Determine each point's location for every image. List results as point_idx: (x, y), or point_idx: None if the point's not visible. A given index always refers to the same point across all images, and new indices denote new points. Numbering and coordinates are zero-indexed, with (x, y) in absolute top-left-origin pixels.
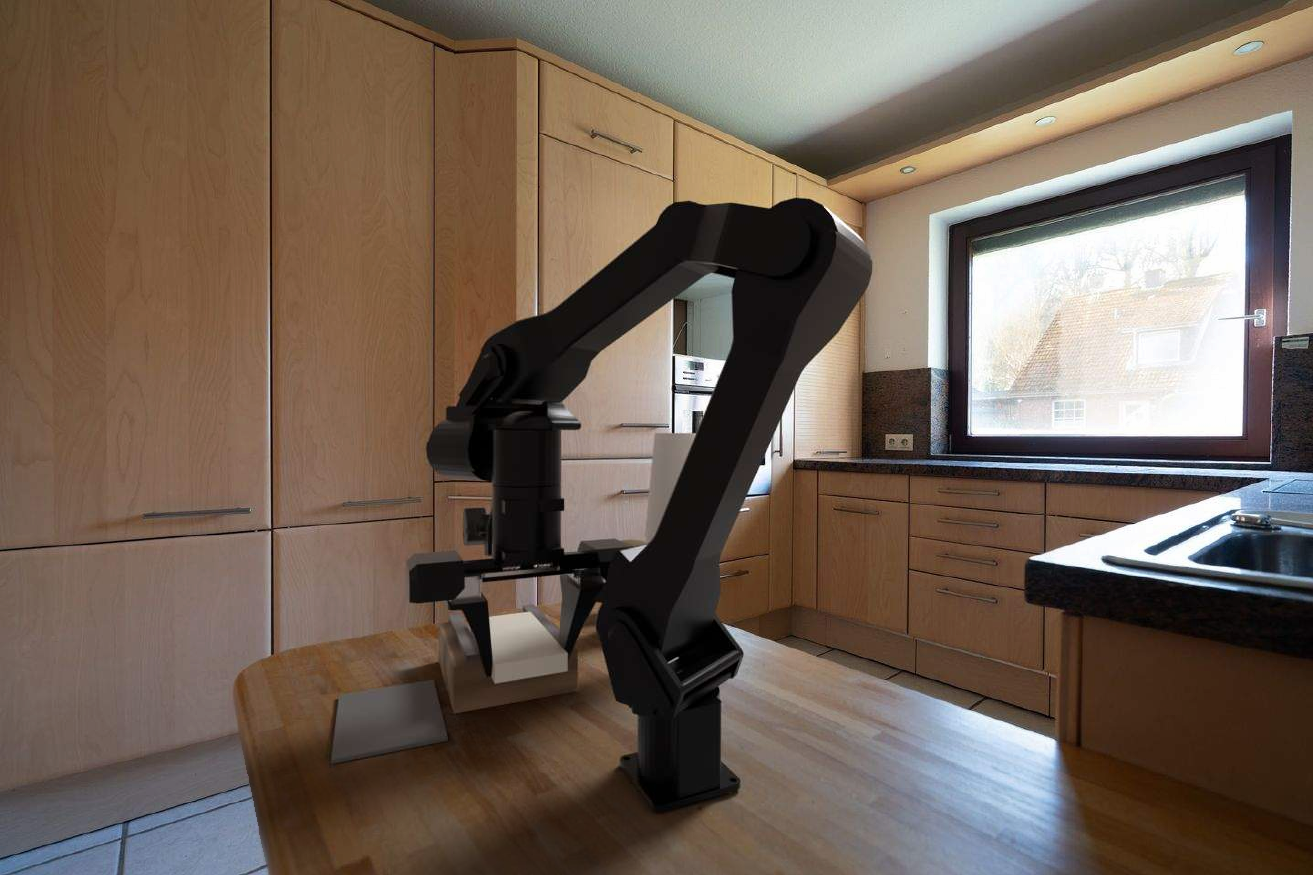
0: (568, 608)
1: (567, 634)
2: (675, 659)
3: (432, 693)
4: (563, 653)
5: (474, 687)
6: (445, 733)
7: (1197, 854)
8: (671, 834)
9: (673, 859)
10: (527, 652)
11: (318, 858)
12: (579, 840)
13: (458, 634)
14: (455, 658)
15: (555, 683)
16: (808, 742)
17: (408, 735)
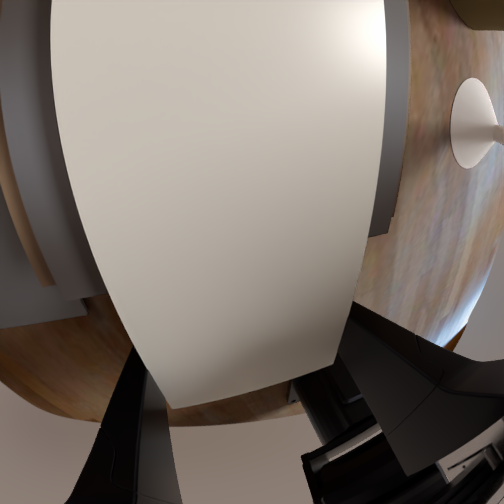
0: (402, 415)
1: (358, 382)
2: (471, 153)
3: None
4: (326, 364)
5: None
6: (81, 305)
7: None
8: (285, 406)
9: (276, 416)
10: (255, 365)
11: (63, 414)
12: (231, 415)
13: (2, 49)
14: (24, 220)
15: None
16: (417, 326)
17: (29, 299)
